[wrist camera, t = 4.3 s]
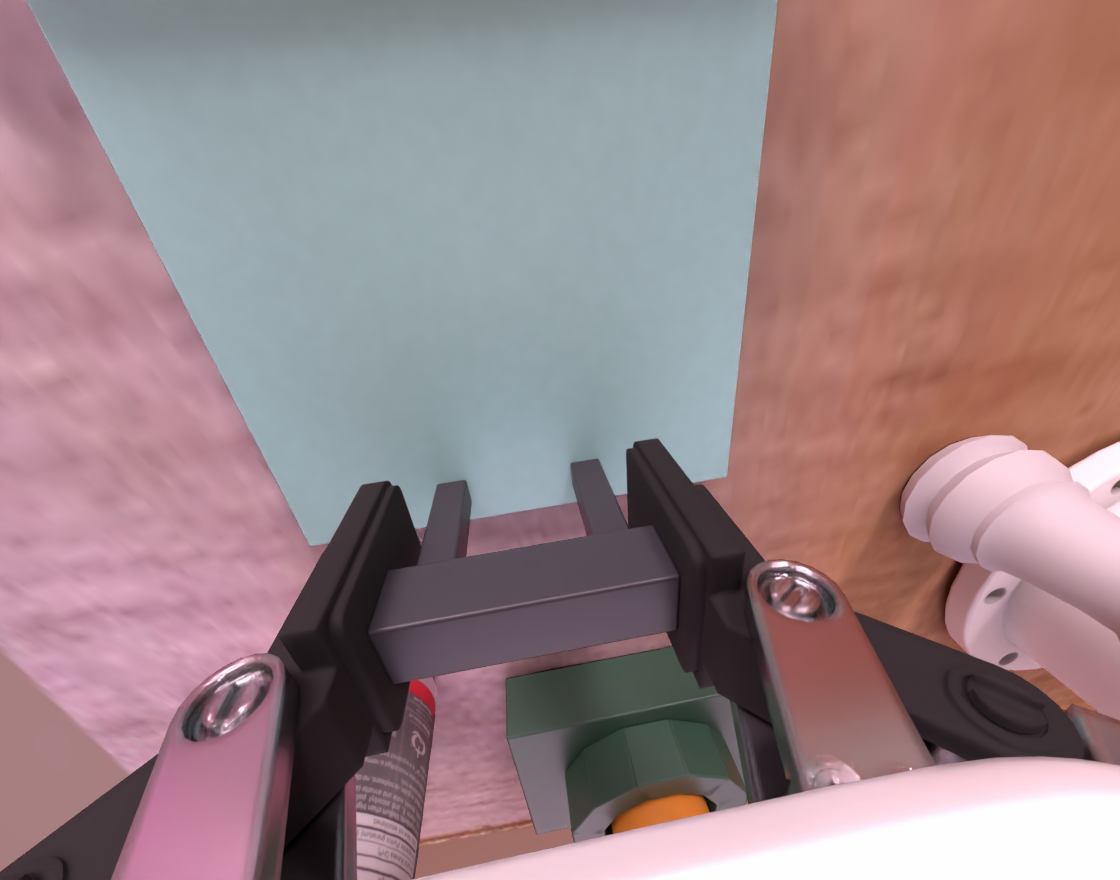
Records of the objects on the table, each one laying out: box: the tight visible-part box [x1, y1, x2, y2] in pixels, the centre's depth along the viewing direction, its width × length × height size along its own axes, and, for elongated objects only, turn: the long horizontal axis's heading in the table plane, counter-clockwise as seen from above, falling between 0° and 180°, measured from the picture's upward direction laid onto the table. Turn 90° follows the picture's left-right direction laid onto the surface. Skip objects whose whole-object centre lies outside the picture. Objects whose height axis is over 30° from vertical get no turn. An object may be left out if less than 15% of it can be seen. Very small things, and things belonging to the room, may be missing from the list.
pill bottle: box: [355, 677, 437, 880], centre depth 11 cm, size 5×5×10 cm
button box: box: [506, 647, 747, 843], centre depth 16 cm, size 10×8×4 cm
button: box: [612, 794, 710, 834], centre depth 14 cm, size 4×4×2 cm
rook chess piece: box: [900, 435, 1120, 642], centre depth 11 cm, size 4×4×8 cm
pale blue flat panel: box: [26, 0, 778, 684], centre depth 7 cm, size 12×11×6 cm
